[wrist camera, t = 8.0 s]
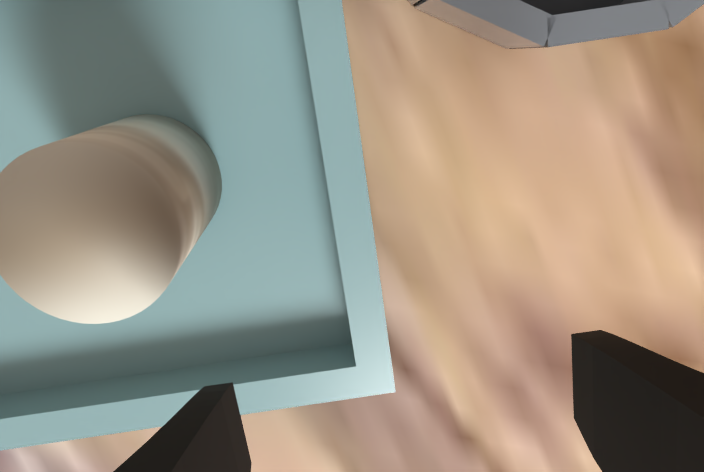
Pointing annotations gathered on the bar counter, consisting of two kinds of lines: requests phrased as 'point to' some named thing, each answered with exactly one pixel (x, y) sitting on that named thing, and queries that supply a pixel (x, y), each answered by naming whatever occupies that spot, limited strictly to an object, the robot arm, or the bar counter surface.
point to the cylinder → (105, 216)
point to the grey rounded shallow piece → (557, 18)
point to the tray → (226, 225)
